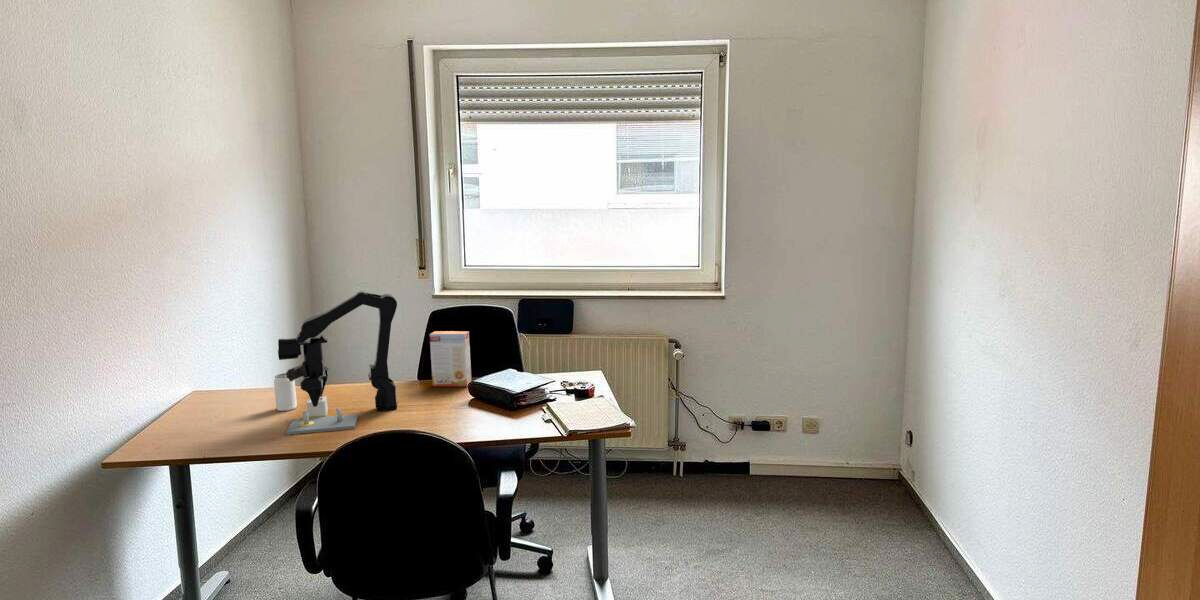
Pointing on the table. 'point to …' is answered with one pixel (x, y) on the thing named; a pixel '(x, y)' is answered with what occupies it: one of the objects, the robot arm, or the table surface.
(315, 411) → the sleeve
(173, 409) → the table surface
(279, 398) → the can
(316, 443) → the table surface
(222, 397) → the table surface
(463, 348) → the cracker box
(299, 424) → the board
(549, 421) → the table surface
